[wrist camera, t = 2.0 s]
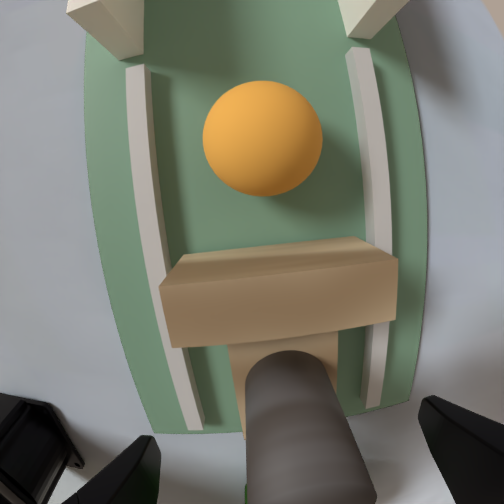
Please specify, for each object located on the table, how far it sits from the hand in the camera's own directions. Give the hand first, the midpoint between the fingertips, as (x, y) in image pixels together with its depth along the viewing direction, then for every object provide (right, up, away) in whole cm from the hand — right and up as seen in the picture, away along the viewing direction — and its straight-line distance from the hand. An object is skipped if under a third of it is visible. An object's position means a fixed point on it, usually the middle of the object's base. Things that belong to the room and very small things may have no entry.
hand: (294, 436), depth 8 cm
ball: (-1, +10, +2) cm, 10 cm away
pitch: (-1, +11, +4) cm, 12 cm away
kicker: (0, +2, +5) cm, 5 cm away
